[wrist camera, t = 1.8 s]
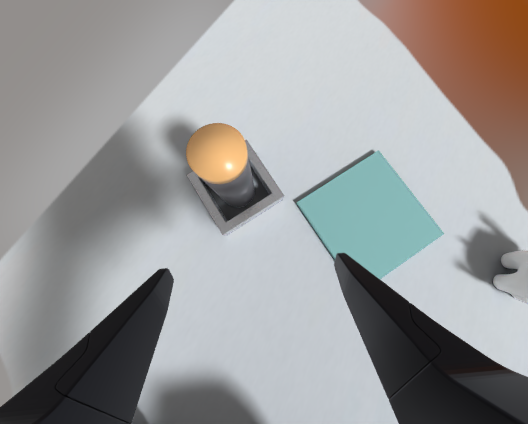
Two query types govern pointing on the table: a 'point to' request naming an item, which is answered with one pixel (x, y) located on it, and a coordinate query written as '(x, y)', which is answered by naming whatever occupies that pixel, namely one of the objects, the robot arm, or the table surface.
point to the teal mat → (370, 216)
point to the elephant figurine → (514, 275)
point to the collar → (251, 212)
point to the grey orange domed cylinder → (222, 162)
